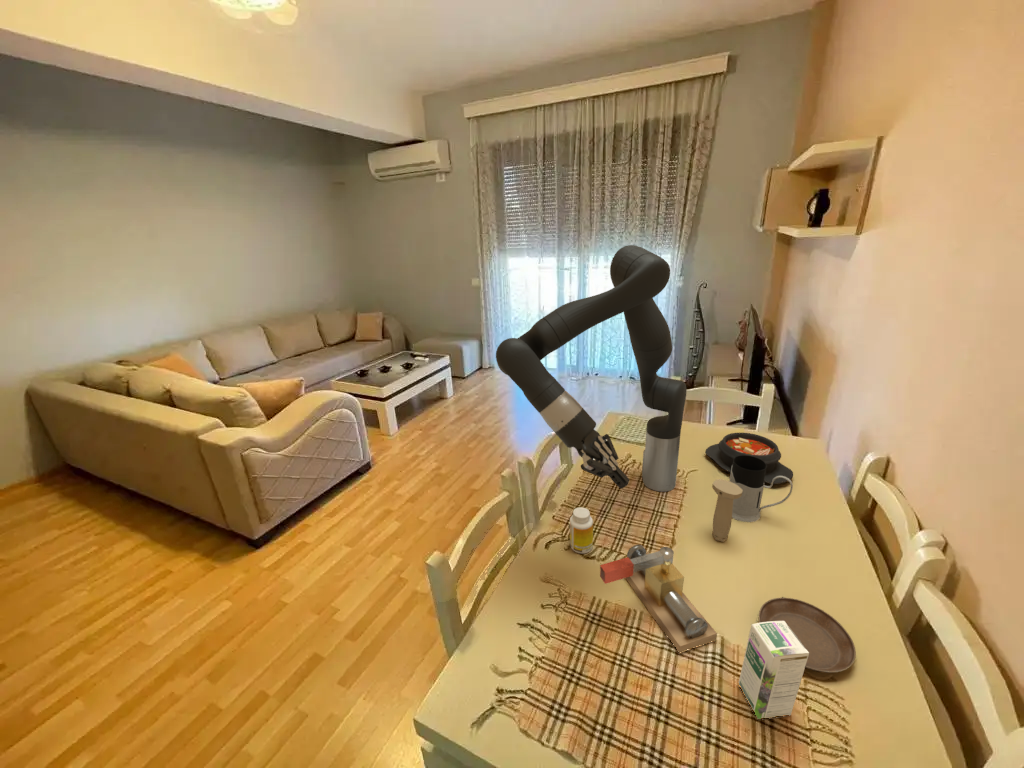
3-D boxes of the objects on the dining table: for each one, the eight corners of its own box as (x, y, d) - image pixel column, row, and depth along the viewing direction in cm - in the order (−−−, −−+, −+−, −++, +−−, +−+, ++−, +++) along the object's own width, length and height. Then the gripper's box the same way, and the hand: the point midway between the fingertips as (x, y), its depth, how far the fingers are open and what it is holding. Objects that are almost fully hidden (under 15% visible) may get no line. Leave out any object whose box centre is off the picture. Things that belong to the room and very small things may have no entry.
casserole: (804, 475, 126) (810, 450, 123) (770, 497, 117) (775, 471, 114) (726, 442, 146) (729, 420, 143) (692, 459, 137) (694, 437, 134)
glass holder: (728, 497, 118) (735, 450, 113) (787, 516, 110) (798, 467, 104) (719, 513, 112) (726, 465, 107) (781, 535, 103) (792, 483, 98)
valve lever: (667, 555, 86) (668, 544, 85) (675, 564, 83) (676, 553, 82) (599, 575, 82) (599, 563, 81) (605, 585, 80) (606, 573, 79)
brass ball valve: (624, 562, 96) (626, 530, 93) (644, 556, 98) (647, 525, 94) (684, 644, 77) (689, 607, 74) (708, 635, 79) (714, 599, 75)
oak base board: (618, 567, 97) (618, 560, 96) (648, 558, 99) (649, 551, 98) (679, 654, 77) (680, 646, 76) (715, 640, 79) (717, 633, 78)
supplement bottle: (597, 549, 103) (598, 515, 99) (578, 557, 100) (578, 523, 97) (584, 535, 107) (584, 502, 104) (565, 543, 105) (565, 509, 101)
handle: (725, 549, 100) (734, 497, 95) (701, 534, 105) (708, 483, 100) (737, 541, 102) (746, 489, 97) (713, 526, 108) (721, 476, 102)
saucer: (874, 676, 72) (879, 665, 71) (792, 686, 71) (794, 675, 70) (810, 603, 86) (813, 593, 85) (740, 611, 85) (742, 601, 84)
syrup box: (736, 684, 72) (748, 622, 67) (769, 680, 72) (784, 618, 67) (757, 721, 66) (772, 657, 61) (793, 716, 67) (811, 652, 62)
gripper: (568, 422, 77) (632, 494, 76) (590, 396, 88) (646, 460, 87) (542, 442, 81) (602, 511, 80) (566, 416, 92) (619, 476, 91)
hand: (625, 484), depth 83 cm, fingers closed
